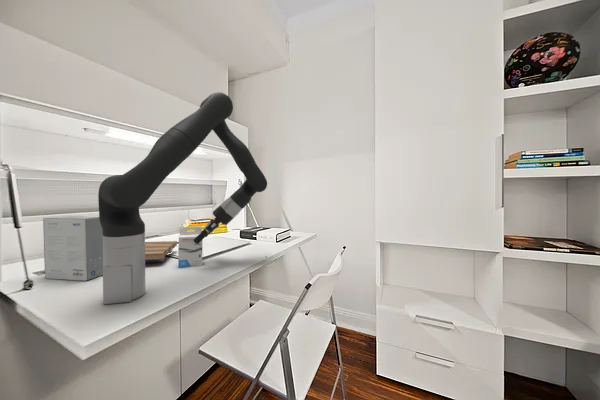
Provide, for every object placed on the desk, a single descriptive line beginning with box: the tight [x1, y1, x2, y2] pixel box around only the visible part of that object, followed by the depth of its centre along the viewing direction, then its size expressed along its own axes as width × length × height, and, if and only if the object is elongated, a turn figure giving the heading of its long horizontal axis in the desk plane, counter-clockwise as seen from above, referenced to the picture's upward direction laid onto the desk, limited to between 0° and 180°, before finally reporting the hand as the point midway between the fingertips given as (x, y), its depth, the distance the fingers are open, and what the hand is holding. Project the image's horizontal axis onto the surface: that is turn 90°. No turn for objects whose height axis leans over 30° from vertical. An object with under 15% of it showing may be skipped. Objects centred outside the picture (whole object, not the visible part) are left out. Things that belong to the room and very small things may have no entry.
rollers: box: [145, 249, 173, 264], centre depth 97 cm, size 13×12×3 cm
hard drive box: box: [42, 215, 103, 282], centre depth 77 cm, size 16×8×20 cm, turn 84°
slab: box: [145, 240, 178, 259], centre depth 97 cm, size 22×14×2 cm, turn 15°
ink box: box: [177, 226, 203, 268], centre depth 91 cm, size 8×5×15 cm, turn 115°
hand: (197, 239), depth 91 cm, fingers open, 8 cm apart
